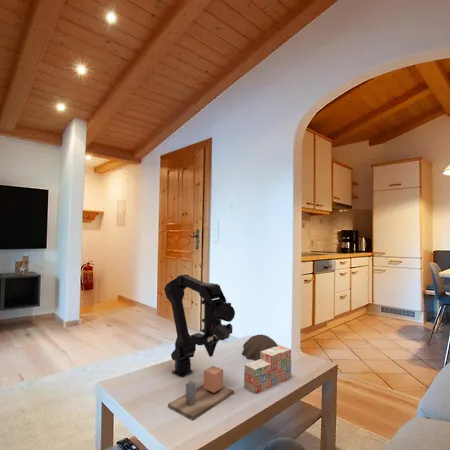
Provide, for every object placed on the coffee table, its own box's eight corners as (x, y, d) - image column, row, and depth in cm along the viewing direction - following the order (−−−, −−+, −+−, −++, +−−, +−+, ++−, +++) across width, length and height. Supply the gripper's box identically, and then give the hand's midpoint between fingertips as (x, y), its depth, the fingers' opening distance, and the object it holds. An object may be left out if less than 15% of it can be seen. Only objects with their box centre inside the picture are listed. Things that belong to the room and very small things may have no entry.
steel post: (185, 407, 107) (186, 383, 108) (190, 404, 109) (190, 380, 109) (190, 409, 106) (190, 385, 106) (195, 406, 108) (195, 383, 108)
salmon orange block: (203, 388, 116) (203, 370, 117) (212, 383, 120) (212, 365, 121) (214, 392, 113) (214, 374, 113) (223, 387, 117) (223, 369, 117)
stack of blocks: (255, 394, 117) (255, 361, 117) (243, 388, 121) (244, 356, 122) (291, 378, 130) (291, 348, 131) (279, 373, 135) (279, 344, 135)
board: (168, 407, 107) (168, 403, 107) (210, 383, 124) (210, 380, 124) (192, 420, 100) (192, 416, 100) (233, 393, 117) (233, 390, 117)
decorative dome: (270, 366, 143) (270, 344, 143) (234, 355, 154) (234, 335, 155) (287, 353, 158) (287, 333, 159) (253, 345, 170) (254, 326, 170)
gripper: (211, 325, 110) (210, 370, 110) (241, 315, 125) (241, 354, 124) (189, 320, 117) (188, 361, 117) (220, 311, 132) (219, 348, 131)
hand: (210, 356), depth 122 cm, fingers closed
